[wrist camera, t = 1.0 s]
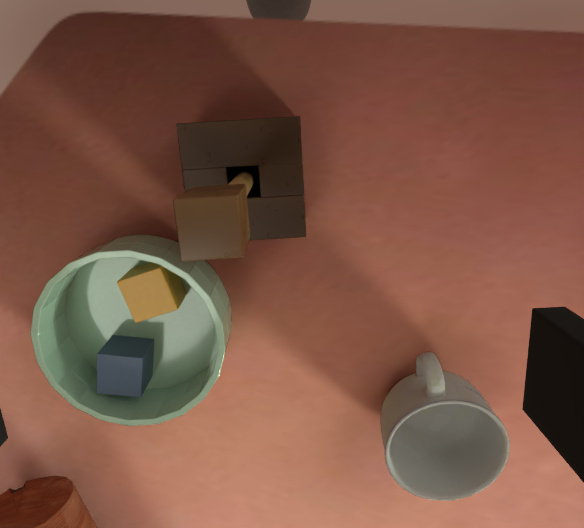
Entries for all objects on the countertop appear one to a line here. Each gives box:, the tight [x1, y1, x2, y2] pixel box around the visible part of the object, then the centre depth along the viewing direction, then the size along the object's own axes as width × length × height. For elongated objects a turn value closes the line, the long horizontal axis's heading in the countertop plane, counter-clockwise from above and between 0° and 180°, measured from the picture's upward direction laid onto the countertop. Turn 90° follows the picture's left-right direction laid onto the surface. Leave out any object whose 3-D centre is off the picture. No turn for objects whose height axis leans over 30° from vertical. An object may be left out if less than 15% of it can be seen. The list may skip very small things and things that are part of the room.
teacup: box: [380, 352, 509, 501], centre depth 45 cm, size 14×11×8 cm
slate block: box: [97, 335, 154, 397], centre depth 44 cm, size 4×4×4 cm
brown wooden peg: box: [173, 166, 257, 261], centre depth 30 cm, size 3×3×24 cm
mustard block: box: [117, 262, 187, 323], centre depth 42 cm, size 4×4×4 cm
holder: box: [176, 116, 306, 240], centre depth 39 cm, size 9×9×7 cm
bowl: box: [31, 235, 232, 426], centre depth 43 cm, size 16×16×6 cm
